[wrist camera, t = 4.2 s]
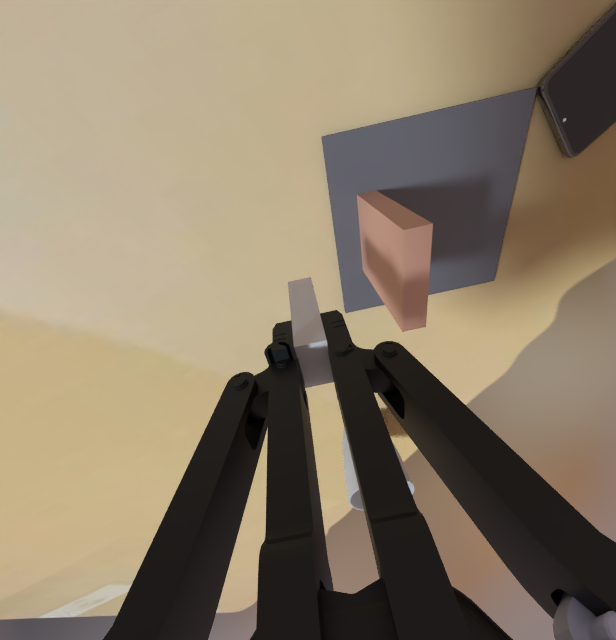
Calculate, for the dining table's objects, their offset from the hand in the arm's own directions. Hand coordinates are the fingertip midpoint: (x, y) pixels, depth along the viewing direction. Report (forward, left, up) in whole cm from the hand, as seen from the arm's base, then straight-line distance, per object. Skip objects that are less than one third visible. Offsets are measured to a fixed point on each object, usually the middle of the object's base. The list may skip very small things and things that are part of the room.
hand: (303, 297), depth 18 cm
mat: (0, +12, -9) cm, 15 cm away
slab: (0, +7, -8) cm, 11 cm away
